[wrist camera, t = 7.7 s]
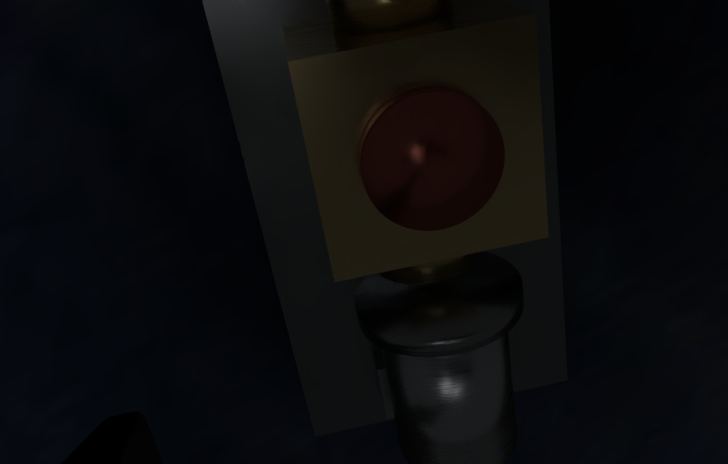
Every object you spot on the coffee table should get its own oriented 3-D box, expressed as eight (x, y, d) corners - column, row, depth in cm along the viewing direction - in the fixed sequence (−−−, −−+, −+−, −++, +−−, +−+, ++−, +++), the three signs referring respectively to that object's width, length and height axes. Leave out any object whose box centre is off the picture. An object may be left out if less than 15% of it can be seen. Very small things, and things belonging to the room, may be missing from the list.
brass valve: (488, 203, 21) (559, 292, 16) (326, 237, 20) (346, 338, 16) (463, -59, 18) (541, -50, 13) (271, -22, 17) (274, 0, 12)
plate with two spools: (564, 375, 24) (634, 481, 20) (314, 430, 24) (325, 553, 19) (522, -439, 15) (638, -600, 10) (108, -371, 14) (33, -507, 10)
